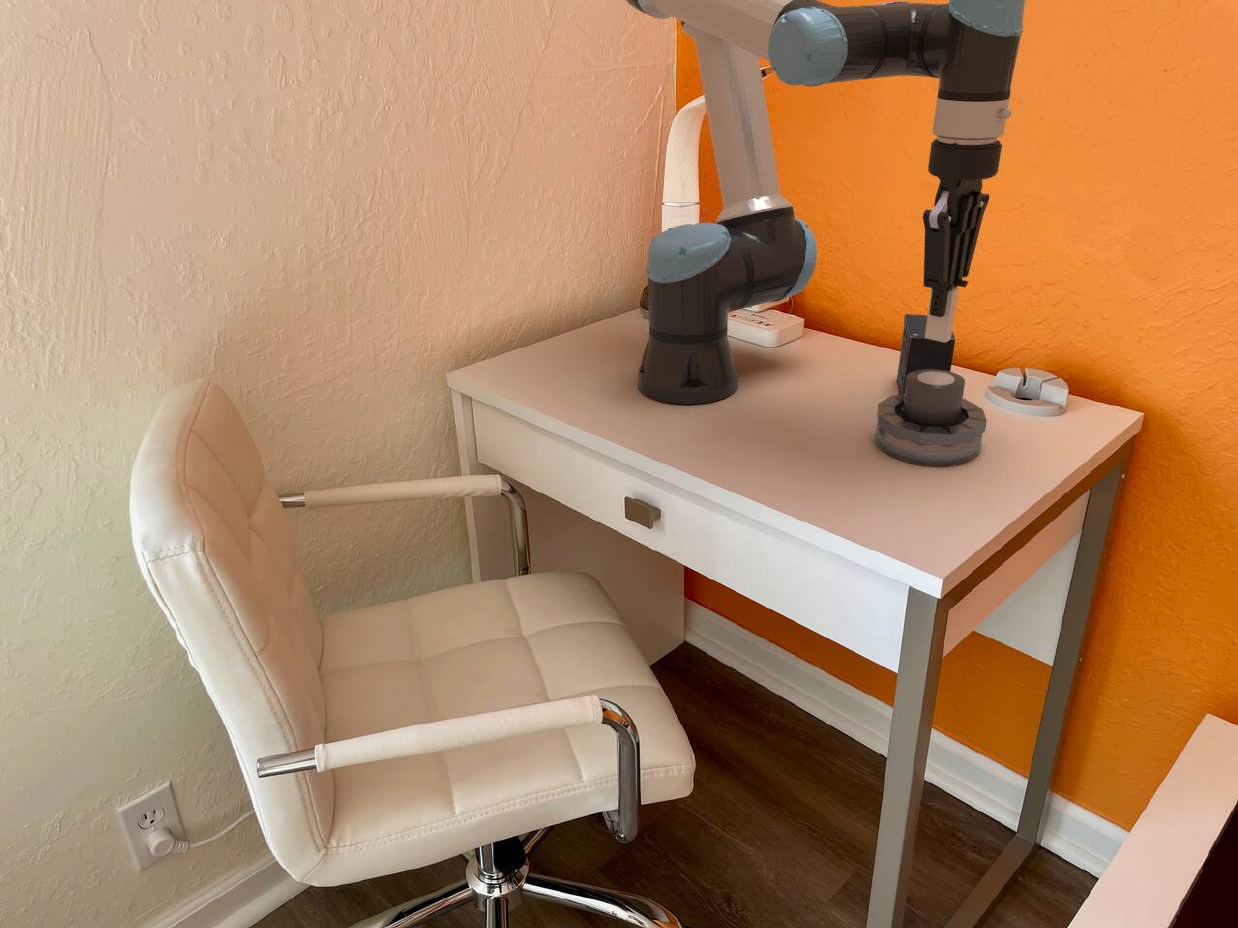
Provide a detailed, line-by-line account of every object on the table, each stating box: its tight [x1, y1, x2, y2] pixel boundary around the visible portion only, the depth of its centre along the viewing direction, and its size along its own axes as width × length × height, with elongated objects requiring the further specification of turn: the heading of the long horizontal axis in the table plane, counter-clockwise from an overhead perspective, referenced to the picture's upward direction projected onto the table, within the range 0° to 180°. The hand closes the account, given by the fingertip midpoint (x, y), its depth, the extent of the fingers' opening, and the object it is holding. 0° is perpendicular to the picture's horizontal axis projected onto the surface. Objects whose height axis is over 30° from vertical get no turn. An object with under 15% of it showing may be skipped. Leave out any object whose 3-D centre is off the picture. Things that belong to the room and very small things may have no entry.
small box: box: [896, 313, 956, 395], centre depth 132 cm, size 11×6×10 cm, turn 168°
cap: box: [902, 369, 966, 427], centre depth 117 cm, size 7×7×6 cm
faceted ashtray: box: [875, 393, 987, 468], centre depth 119 cm, size 13×13×4 cm
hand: (937, 338), depth 114 cm, fingers closed
